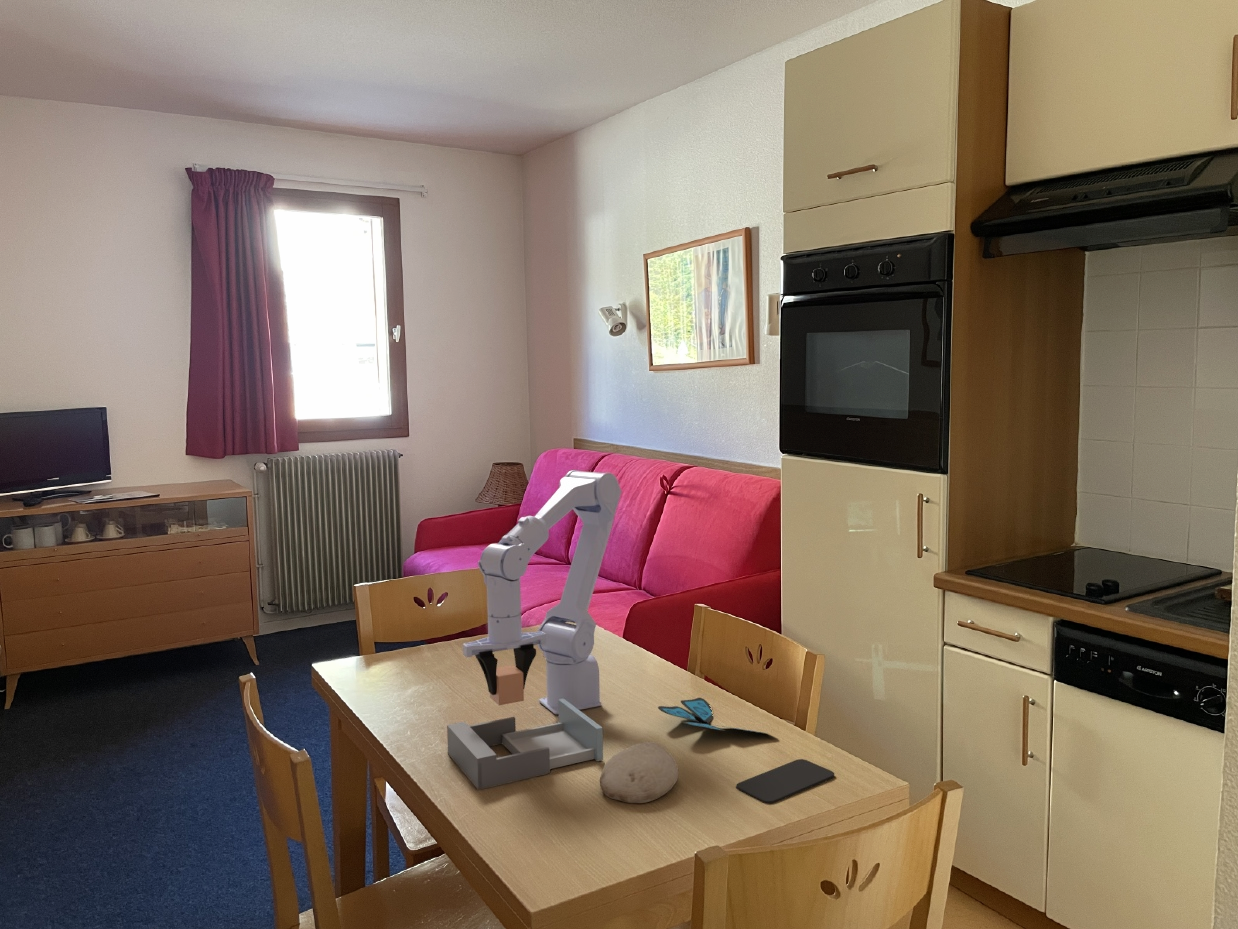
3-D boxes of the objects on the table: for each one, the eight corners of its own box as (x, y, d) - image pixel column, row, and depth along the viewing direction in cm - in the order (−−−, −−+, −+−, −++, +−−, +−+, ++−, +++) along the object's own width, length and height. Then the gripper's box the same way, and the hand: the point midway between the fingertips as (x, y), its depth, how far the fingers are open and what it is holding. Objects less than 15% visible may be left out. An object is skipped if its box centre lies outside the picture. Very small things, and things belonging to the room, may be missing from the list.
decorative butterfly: (640, 713, 164) (641, 697, 163) (704, 703, 171) (706, 688, 171) (709, 759, 147) (711, 742, 146) (777, 746, 154) (779, 729, 154)
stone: (628, 836, 132) (651, 802, 128) (580, 785, 136) (602, 751, 132) (675, 794, 142) (698, 761, 138) (630, 748, 146) (651, 715, 142)
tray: (564, 728, 159) (563, 698, 159) (602, 760, 146) (602, 727, 146) (499, 741, 154) (499, 710, 153) (534, 775, 141) (533, 742, 140)
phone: (732, 784, 137) (801, 757, 145) (732, 790, 137) (801, 762, 146) (768, 803, 131) (838, 773, 140) (768, 808, 131) (838, 778, 140)
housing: (514, 739, 155) (513, 712, 155) (549, 773, 142) (549, 743, 141) (447, 753, 150) (447, 725, 149) (478, 790, 137) (477, 758, 136)
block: (514, 692, 162) (513, 665, 161) (523, 700, 158) (523, 672, 157) (490, 697, 160) (489, 669, 159) (499, 705, 156) (498, 676, 155)
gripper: (471, 625, 150) (473, 705, 152) (552, 613, 157) (554, 690, 158) (457, 615, 157) (460, 692, 158) (536, 604, 163) (538, 678, 165)
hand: (506, 690), depth 159 cm, fingers closed on block, 4 cm apart
